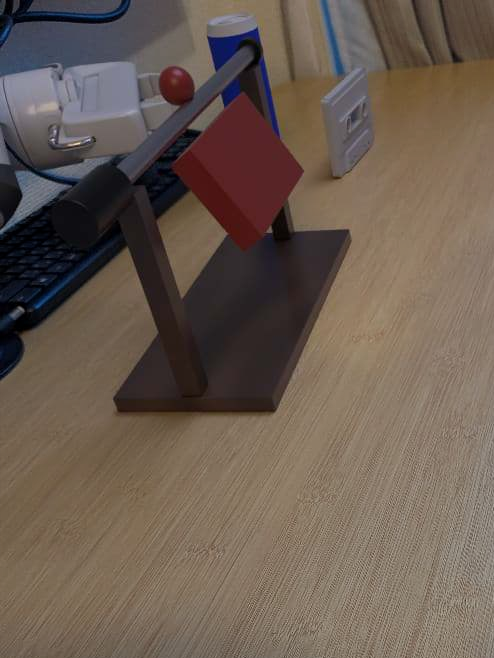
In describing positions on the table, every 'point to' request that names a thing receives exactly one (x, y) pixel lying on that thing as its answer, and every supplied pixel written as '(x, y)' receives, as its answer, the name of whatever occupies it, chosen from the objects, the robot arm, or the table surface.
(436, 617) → the table surface
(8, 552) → the table surface
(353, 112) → the cassette
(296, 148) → the table surface
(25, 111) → the robot arm
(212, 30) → the beverage can
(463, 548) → the table surface
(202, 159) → the foosball rod
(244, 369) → the rod stand
